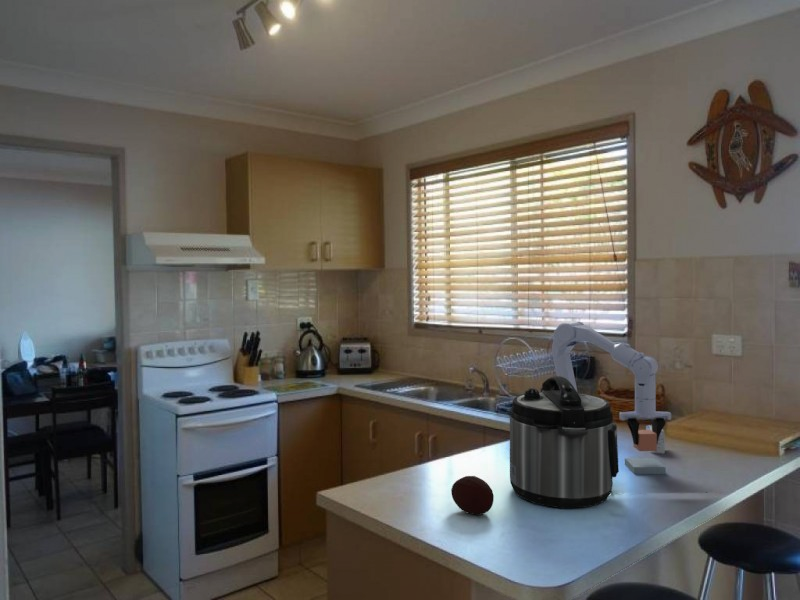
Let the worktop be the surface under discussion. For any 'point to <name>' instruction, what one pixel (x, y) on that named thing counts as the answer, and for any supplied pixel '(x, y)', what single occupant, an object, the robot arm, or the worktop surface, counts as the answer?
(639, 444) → the red cube
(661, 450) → the medicine box
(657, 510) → the worktop surface
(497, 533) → the worktop surface
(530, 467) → the pressure cooker
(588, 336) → the robot arm
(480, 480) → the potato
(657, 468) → the top block
